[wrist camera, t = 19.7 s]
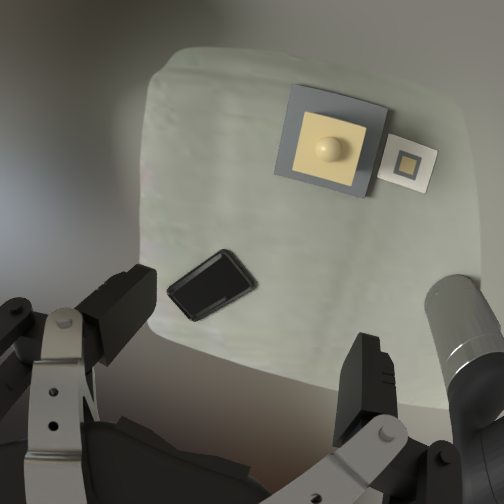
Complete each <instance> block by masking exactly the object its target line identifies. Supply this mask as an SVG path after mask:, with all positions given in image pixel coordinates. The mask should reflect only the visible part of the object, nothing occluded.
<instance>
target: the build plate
mask: <svg viewBox="0 0 504 504" xmlns="http://www.w3.org/2000/svg"><path fill="white" fill-rule="evenodd" d="M305 111H307V112H314V113H318V114H322V115H326V116H330V117H334V118H338V119H341V120H345V121H349V122H352V123H356V124H359V125H361V126H364V127H366V132H365V136H364V140H363V144H362V148H361V152H360V156H359V159H358V163H357V167H356V170H355V174H354V178H353V181H352V185H351V186H348V185H345V184H341V183H338V182H334V181H331V180H327V179H324V178H320V177H316V176H313V175H309V174H305V173H301V172H298V171H294V170H292V168H293V164H294V159H295V155H296V150H297V146H298V141H299V136H300V132H301V127H302V123H303V118H304V113H305ZM387 111H388V109H387V108H384V107H381V106H378V105H375V104H371V103H368V102H365V101H361V100H358V99H354V98H350V97H347V96H343V95H339V94H335V93H331V92H327V91H323V90H318V89H314V88H310V87H305V86H300V85H295V84H292V86H291V91H290V96H289V101H288V106H287V111H286V116H285V121H284V126H283V131H282V136H281V141H280V146H279V151H278V156H277V161H276V165H275V170H274V174H275V175H279V176H283V177H287V178H291V179H295V180H299V181H303V182H306V183H310V184H314V185H318V186H321V187H325V188H328V189H332V190H336V191H339V192H343V193H346V194H349V195H353V196H356V197H360V198H363V199H364V198H365V194H366V191H367V187H368V184H369V181H370V177H371V173H372V170H373V166H374V163H375V159H376V155H377V151H378V147H379V144H380V140H381V136H382V132H383V128H384V123H385V119H386V115H387Z"/></svg>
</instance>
